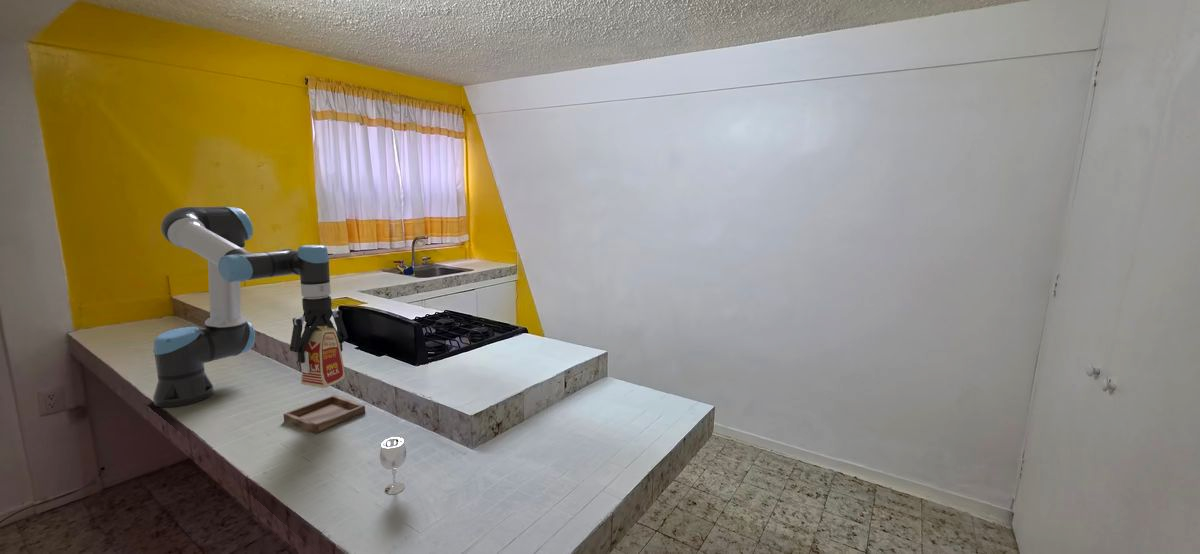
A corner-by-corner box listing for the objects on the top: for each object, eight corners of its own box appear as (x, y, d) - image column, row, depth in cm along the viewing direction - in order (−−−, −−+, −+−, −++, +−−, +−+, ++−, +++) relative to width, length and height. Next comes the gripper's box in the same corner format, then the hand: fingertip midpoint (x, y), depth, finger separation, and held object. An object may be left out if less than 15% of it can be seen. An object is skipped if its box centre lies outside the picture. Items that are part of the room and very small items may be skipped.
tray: (284, 421, 141) (283, 413, 140) (334, 401, 155) (333, 394, 154) (315, 434, 133) (315, 426, 133) (365, 412, 148) (364, 405, 147)
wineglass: (386, 481, 113) (384, 436, 111) (410, 480, 113) (409, 436, 111) (377, 496, 107) (375, 449, 105) (402, 495, 107) (400, 448, 106)
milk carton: (325, 388, 137) (320, 323, 134) (299, 384, 139) (294, 321, 136) (348, 376, 146) (343, 316, 142) (323, 373, 148) (318, 314, 144)
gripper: (285, 304, 126) (292, 381, 130) (358, 291, 146) (362, 358, 149) (270, 301, 130) (277, 376, 133) (343, 289, 149) (347, 354, 153)
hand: (322, 367), depth 141 cm, fingers closed on milk carton, 9 cm apart
